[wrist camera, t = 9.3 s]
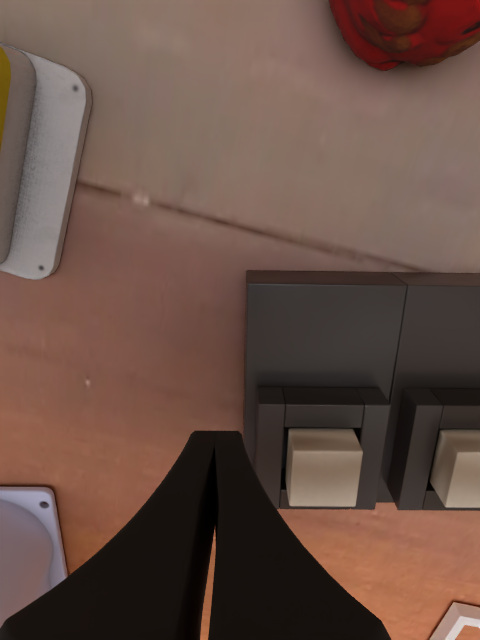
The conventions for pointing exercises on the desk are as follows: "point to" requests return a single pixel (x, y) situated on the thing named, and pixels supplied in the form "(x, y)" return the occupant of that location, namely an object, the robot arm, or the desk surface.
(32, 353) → the desk surface
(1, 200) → the emergency button
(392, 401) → the dark brown notched block
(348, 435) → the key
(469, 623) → the photo frame
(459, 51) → the red clay folk toy
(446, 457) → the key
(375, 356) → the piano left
